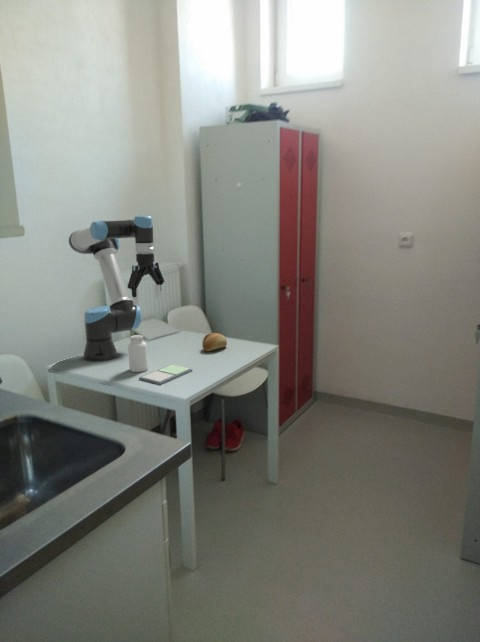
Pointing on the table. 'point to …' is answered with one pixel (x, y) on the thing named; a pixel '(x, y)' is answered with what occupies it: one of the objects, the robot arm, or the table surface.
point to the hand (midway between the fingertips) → (147, 301)
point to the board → (165, 374)
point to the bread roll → (213, 341)
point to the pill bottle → (137, 354)
